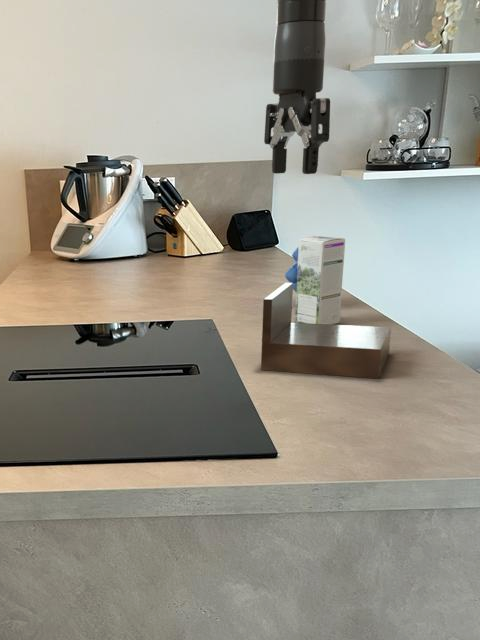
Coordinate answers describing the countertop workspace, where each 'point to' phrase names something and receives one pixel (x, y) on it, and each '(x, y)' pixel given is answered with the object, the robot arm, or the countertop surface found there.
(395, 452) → the countertop surface
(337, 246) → the syrup box
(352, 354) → the metal l-shaped bookend
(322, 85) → the robot arm
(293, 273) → the grapes
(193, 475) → the countertop surface
